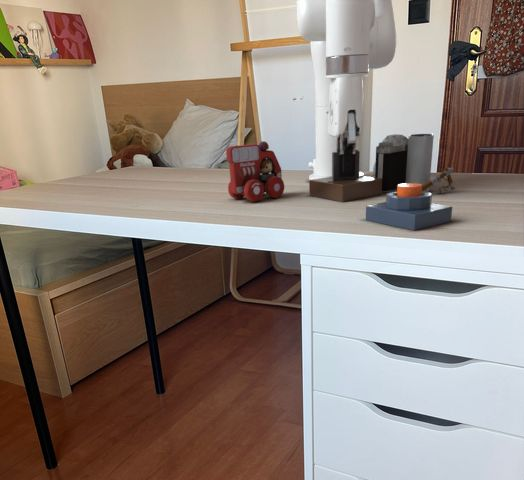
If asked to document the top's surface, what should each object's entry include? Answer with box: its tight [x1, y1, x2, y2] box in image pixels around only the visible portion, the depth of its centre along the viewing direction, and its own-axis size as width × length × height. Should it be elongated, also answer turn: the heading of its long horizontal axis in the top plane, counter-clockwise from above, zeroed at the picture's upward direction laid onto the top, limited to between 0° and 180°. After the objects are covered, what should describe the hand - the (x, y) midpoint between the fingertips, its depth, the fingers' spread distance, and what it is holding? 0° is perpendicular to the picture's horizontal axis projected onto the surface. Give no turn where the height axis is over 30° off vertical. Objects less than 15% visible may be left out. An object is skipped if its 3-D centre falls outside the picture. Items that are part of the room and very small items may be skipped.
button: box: [396, 183, 422, 197], centre depth 79 cm, size 4×4×2 cm
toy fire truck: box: [225, 141, 285, 203], centre depth 103 cm, size 7×12×10 cm, turn 128°
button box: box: [365, 190, 453, 231], centre depth 80 cm, size 10×8×4 cm
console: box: [308, 175, 383, 203], centre depth 103 cm, size 10×10×3 cm
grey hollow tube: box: [406, 133, 435, 192], centre depth 101 cm, size 4×4×10 cm
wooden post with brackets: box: [422, 167, 456, 194], centre depth 99 cm, size 2×8×4 cm, turn 106°
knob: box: [332, 149, 361, 180], centre depth 101 cm, size 5×2×5 cm, turn 93°
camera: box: [372, 133, 408, 193], centre depth 108 cm, size 15×7×10 cm, turn 131°
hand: (345, 175), depth 102 cm, fingers closed, pressing on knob
